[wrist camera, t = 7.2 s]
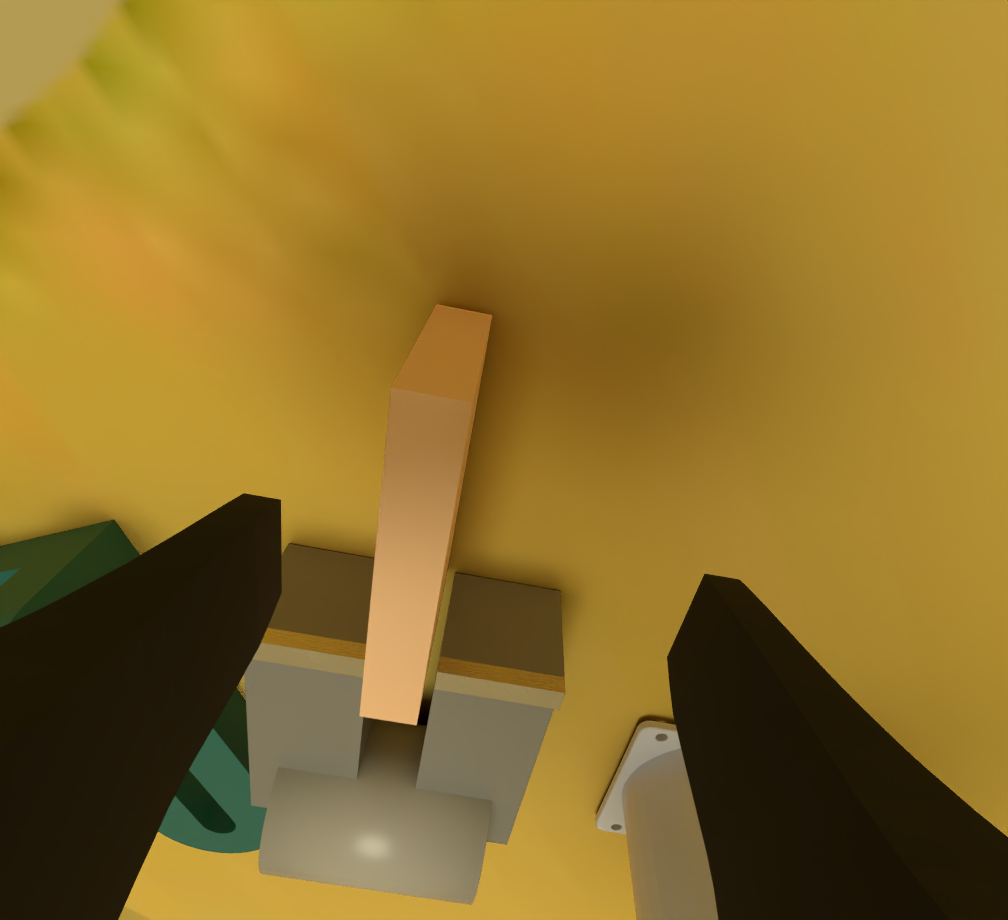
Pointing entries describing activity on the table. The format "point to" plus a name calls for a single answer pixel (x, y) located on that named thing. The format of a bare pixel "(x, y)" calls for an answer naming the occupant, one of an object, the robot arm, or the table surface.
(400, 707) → the orange wooden slat
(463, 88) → the table surface
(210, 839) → the bracket
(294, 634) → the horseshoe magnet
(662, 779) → the robot arm
